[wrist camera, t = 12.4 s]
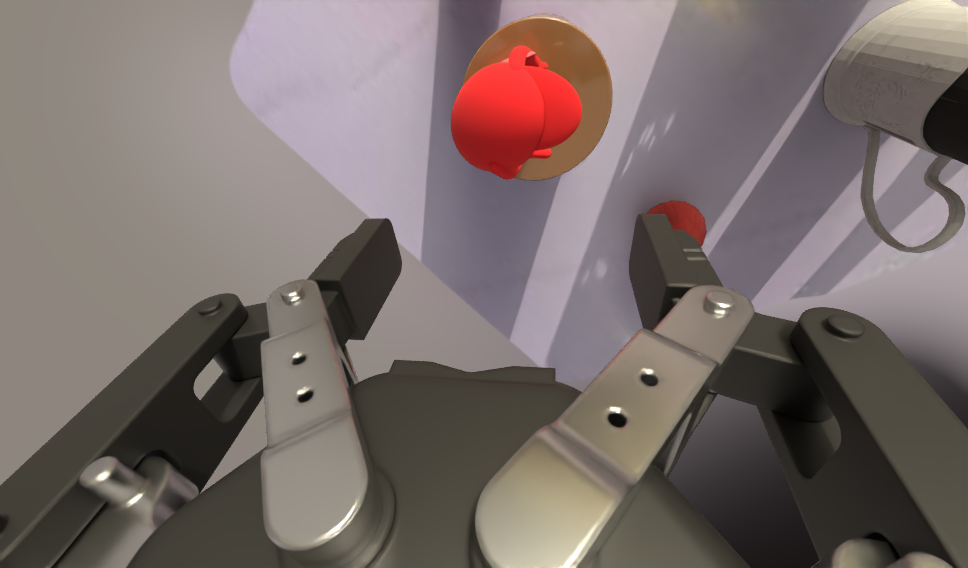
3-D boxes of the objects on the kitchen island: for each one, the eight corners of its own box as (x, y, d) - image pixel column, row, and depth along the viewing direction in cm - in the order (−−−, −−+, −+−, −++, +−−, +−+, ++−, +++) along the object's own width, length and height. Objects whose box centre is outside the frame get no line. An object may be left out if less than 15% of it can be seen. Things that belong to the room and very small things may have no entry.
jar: (491, 132, 37) (467, 186, 27) (482, 15, 32) (447, 26, 21) (590, 127, 36) (605, 182, 25) (600, 2, 30) (624, 8, 20)
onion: (653, 246, 42) (669, 290, 36) (623, 211, 40) (635, 252, 34) (704, 215, 39) (732, 258, 33) (675, 176, 37) (698, 213, 31)
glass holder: (1003, 6, 27) (1351, 19, 15) (856, 190, 36) (1003, 288, 24) (876, -11, 27) (1120, -13, 15) (763, 175, 36) (862, 264, 24)
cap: (495, 180, 26) (460, 210, 22) (455, 97, 24) (406, 110, 20) (607, 128, 22) (593, 152, 17) (568, 22, 20) (541, 16, 16)
